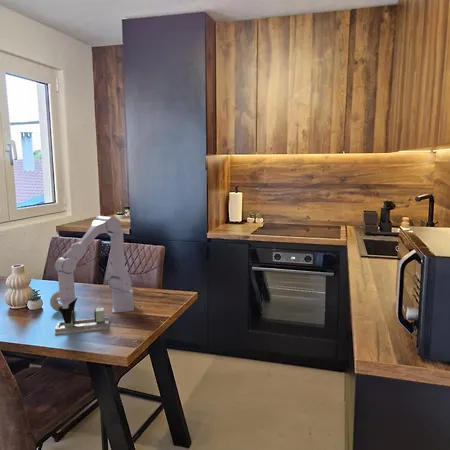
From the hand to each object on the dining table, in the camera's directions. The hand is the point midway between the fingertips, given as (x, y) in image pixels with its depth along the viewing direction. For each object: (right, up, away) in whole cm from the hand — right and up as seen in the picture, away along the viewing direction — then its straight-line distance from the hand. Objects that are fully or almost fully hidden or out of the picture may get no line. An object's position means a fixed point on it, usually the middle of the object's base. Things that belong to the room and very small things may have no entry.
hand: (69, 319), depth 162 cm
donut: (-11, -1, +20) cm, 23 cm away
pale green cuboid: (0, -3, 0) cm, 3 cm away
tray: (+5, -4, +2) cm, 6 cm away
